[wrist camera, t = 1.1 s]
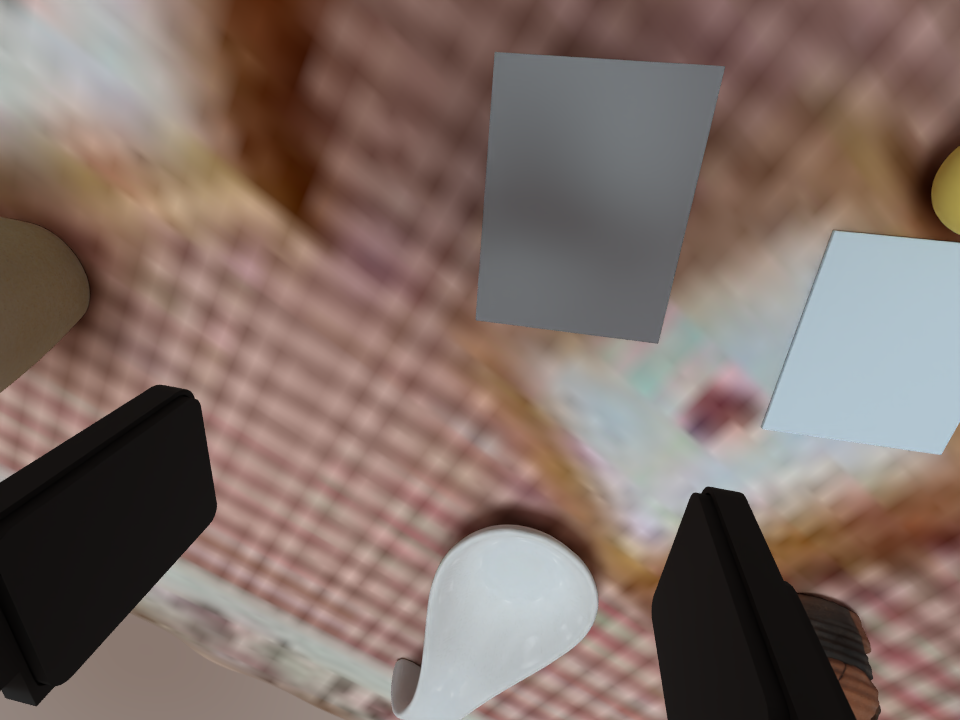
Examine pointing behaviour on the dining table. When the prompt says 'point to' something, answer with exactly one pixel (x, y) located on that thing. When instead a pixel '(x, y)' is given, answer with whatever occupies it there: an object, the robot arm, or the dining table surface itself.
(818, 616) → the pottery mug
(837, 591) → the dining table surface
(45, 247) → the plant pot
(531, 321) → the plain gray box
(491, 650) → the spoon rest
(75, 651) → the robot arm
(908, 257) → the pale gray panel
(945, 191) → the ball
